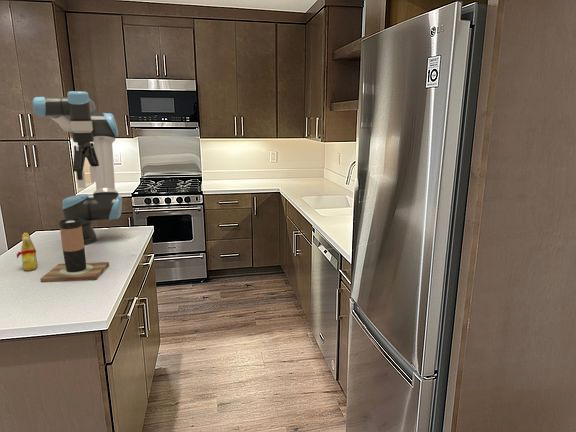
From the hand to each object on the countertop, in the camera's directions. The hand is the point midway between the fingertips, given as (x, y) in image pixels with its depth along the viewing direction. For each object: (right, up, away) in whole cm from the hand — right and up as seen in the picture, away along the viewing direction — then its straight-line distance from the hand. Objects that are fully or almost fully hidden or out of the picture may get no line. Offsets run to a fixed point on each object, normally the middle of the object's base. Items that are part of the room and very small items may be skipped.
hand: (88, 184), depth 168 cm
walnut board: (-2, -36, -5) cm, 36 cm away
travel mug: (-2, -34, -5) cm, 35 cm away
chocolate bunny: (-26, -35, +2) cm, 43 cm away
